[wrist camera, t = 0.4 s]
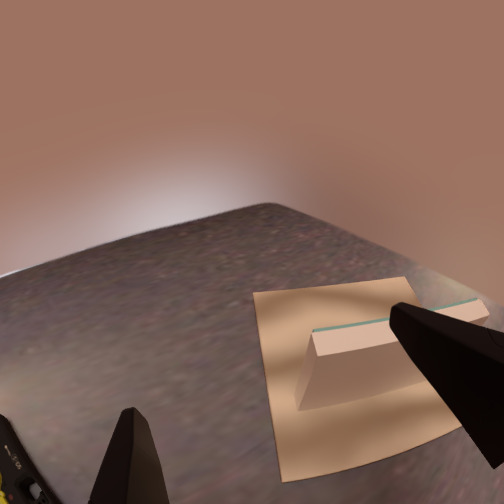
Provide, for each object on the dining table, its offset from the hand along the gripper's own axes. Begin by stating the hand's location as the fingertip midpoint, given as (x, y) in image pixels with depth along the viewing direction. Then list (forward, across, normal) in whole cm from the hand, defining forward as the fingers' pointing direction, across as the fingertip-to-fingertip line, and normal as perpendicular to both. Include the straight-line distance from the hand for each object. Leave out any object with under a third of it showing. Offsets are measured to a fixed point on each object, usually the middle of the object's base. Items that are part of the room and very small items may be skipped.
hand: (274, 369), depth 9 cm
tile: (+5, -9, +15) cm, 18 cm away
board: (+8, -10, +15) cm, 20 cm away
